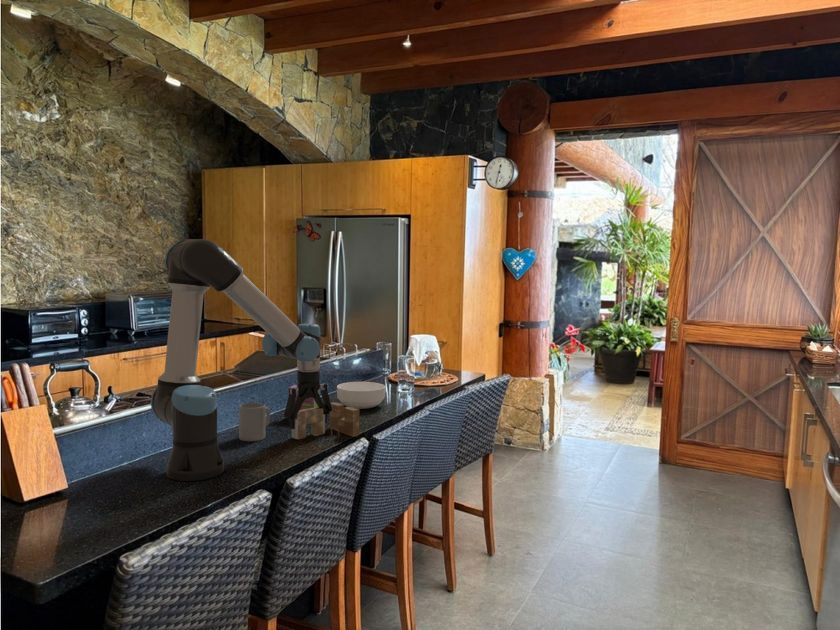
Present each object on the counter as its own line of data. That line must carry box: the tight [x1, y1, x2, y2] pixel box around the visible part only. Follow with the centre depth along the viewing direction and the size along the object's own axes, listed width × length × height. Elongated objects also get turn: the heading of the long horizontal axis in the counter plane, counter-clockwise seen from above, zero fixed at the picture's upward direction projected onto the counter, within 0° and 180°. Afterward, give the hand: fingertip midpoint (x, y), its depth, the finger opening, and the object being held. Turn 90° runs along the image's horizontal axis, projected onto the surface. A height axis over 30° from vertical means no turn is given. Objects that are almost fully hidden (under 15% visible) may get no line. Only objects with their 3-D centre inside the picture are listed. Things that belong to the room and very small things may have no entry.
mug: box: [238, 402, 271, 442], centre depth 213 cm, size 12×8×11 cm
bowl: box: [336, 381, 386, 410], centre depth 260 cm, size 20×20×8 cm
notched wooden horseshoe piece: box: [295, 407, 324, 440], centre depth 216 cm, size 10×2×9 cm, turn 132°
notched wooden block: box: [329, 401, 360, 437], centre depth 222 cm, size 2×14×9 cm, turn 42°
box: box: [287, 384, 321, 410], centre depth 240 cm, size 10×6×12 cm, turn 76°
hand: (308, 435), depth 216 cm, fingers closed on notched wooden horseshoe piece, 10 cm apart
